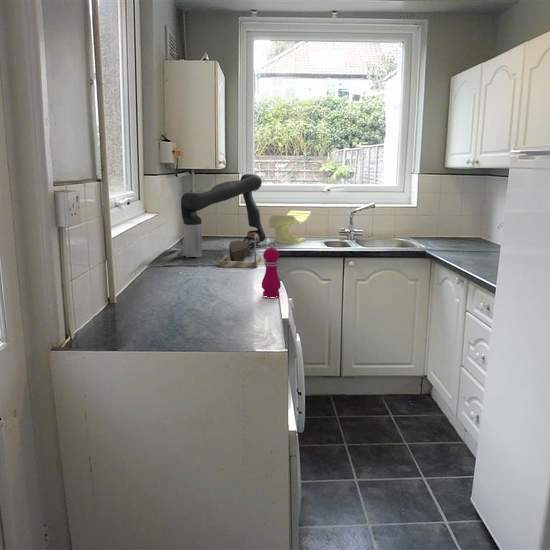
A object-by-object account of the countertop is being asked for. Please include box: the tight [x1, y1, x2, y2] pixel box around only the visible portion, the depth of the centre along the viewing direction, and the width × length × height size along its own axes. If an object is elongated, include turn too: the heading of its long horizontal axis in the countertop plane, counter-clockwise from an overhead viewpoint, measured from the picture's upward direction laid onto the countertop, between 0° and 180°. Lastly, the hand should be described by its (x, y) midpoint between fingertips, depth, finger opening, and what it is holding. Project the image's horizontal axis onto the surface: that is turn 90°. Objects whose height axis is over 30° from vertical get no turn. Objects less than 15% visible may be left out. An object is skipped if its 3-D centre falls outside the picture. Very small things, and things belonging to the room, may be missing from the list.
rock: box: [228, 240, 249, 262], centre depth 257 cm, size 12×10×10 cm
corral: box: [219, 232, 262, 269], centre depth 252 cm, size 18×16×16 cm
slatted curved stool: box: [268, 210, 312, 245], centre depth 320 cm, size 30×16×18 cm, turn 157°
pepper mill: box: [261, 243, 282, 297], centre depth 193 cm, size 7×7×20 cm
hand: (246, 246), depth 269 cm, fingers closed
